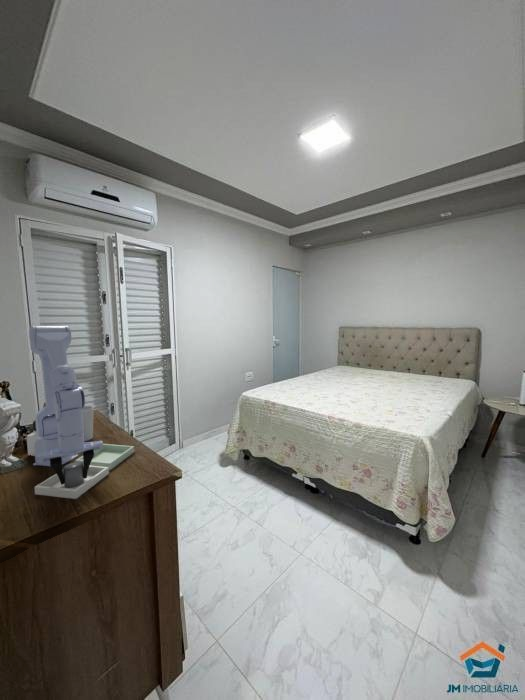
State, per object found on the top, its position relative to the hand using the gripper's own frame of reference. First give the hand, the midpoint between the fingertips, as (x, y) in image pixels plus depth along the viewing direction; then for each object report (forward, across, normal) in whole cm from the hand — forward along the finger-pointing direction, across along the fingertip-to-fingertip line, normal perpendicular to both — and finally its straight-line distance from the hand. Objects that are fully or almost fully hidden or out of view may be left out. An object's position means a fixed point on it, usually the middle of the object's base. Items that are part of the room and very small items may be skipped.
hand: (74, 479), depth 77 cm
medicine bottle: (+2, -7, +30) cm, 31 cm away
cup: (+2, +4, +35) cm, 36 cm away
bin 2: (+2, +9, +11) cm, 14 cm away
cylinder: (+1, 0, 0) cm, 1 cm away
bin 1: (+2, 0, 0) cm, 2 cm away
